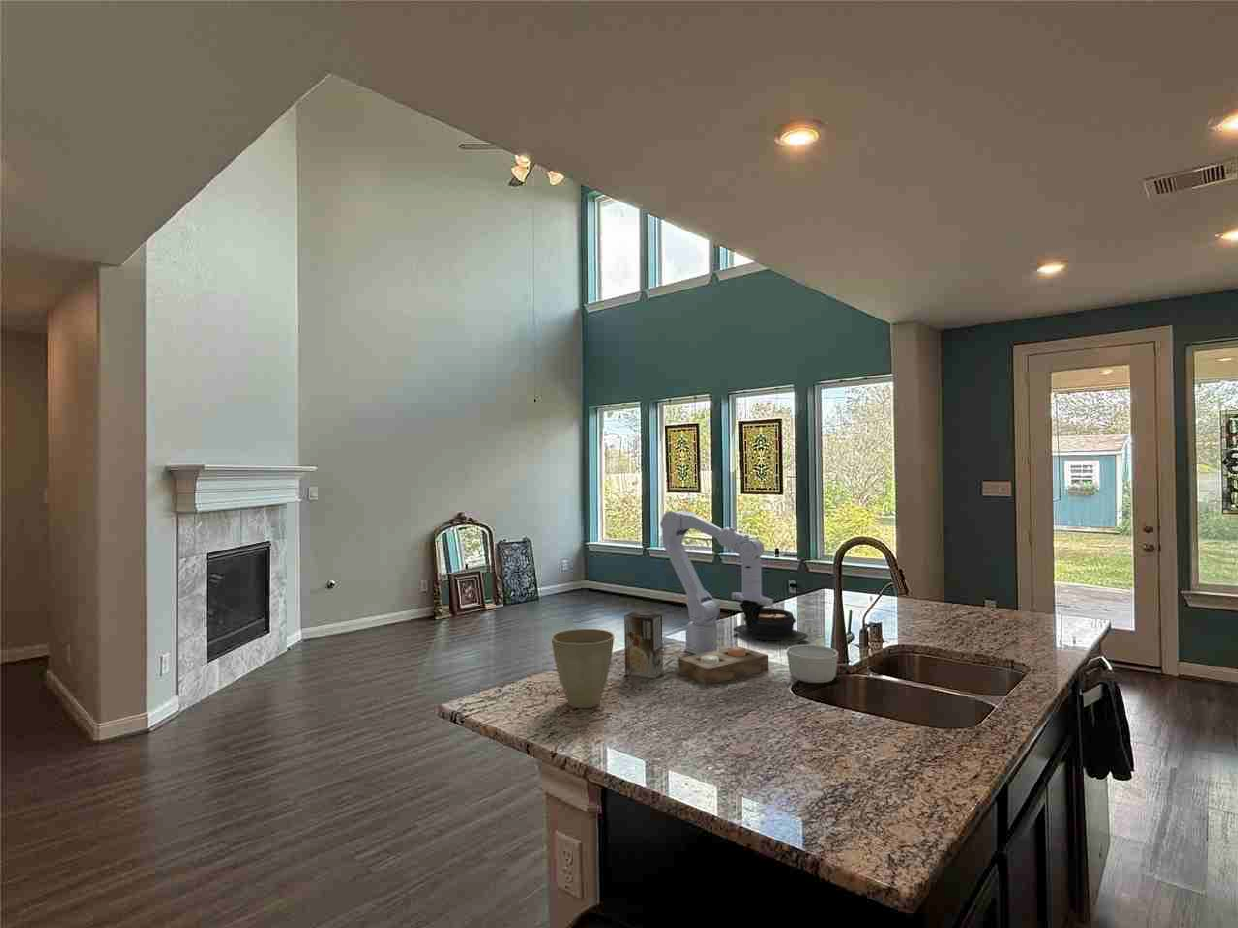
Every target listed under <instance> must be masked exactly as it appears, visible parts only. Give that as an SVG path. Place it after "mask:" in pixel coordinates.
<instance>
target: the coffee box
mask: <svg viewBox="0 0 1238 928" xmlns="http://www.w3.org/2000/svg"><path fill="white" fill-rule="evenodd" d="M623 633H624V634H623V636H624V637H623V640H624V674H625V675H626V676H633V677H638V678H639V677H640V678H647V679H653V680H654V679H656V678H659V676H661V675H662V674H663V673H664V662H663V661H664V659H663V657H664V655H663V654H664V653H663V614H661V613H652V612H644V611H643V612H642V611H635V610H634V611H631V612H629V613H626V614H625V615H623Z"/></svg>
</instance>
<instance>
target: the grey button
mask: <svg viewBox="0 0 1238 928" xmlns="http://www.w3.org/2000/svg"><path fill="white" fill-rule="evenodd" d="M701 662H704V663H707V664H713V663H717V662H719V658H718V657H717V656H711V655H707V656H702V657H701Z"/></svg>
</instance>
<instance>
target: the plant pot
mask: <svg viewBox="0 0 1238 928" xmlns="http://www.w3.org/2000/svg"><path fill="white" fill-rule="evenodd" d="M614 642H615V634H614V633H612V632H611V631H608V630H605V629H595V628H577V629H576V628H575V629H569V630H563V631H559V632H557V633H554V634H553V635H551V643H552V650H553V655H554V661H555V666H556V670H557V674H558V677H559V681H560V685H561V688H562V690H563V693H564V696H565V698H566V702H567V703H568V706H570V707H572V708H577V709H589V708H590V709H591V708H593V707H597V706H598V705H599V704H600V702H601V700H602V696H603V693H604V690H605V687H606V684H607V681H608V680H607V679H608V677H609V672H610V667H611V664H612V663H611V662H612V655H613V649H614Z"/></svg>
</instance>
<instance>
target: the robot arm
mask: <svg viewBox="0 0 1238 928" xmlns="http://www.w3.org/2000/svg"><path fill="white" fill-rule="evenodd" d="M661 518H662V519H661V521H660V523H659V525H660V528H661V529H662V530H661V531H662V545H663V547H664V549H665V552H666V554H667V555H668V558H669V560H670V562H671V564H672V566H673V568H674V571H675V573H676V574H677V576H678V579H679V580H680V583H681V585H682V587H683V589H684V592H685V593H686V595H687V598H686V602H685V604H686V607H687V609H688V617H689V619H690V621H689V622H688V623H687V625H686V626H685V648H683V651H684V652H687V653H689V654H693V655H696V654H701V653H706V652H711V651H715V650H718V649H717V647H718V646H717V644H718V643H717V618H718V616H719V615H720V611H721V608H720V605H719V603H718V601H717V600H715V599H714V598H713V597H712V594H711V593H710V592H708V591H707V590H706V589H705V588H704V586H703V584H702V582H701V580H700V578H699V576H698V573H697V572H696V570H695V568H694V565H693V563H692V561H691V560H690V557H689V556H688V553H687V551H686V549H685V548H684V545H683V540H684V538H685V535H686V534H687V533H688V532H689V530H690V529H691V530H692V529H694V530H697V531H699V532H701V533H704V534H706V535H708V536H710V537H713V538H714V539H716V540H717V543H718V544H719V545H720V546H722V547H724V548H726V549H728V550H730V551H732V552H733V553H736V554H738V556H739V557H740V560H741V566H740V567H741V592H738V591H735V592H731V600H738V601H742V602H740V603H739V607H740V608H741V610H742V612H743V615H744V616H745V618H746V621H747V625H748V628H751V629H752V628H756V626H757V622H758V618H759V615H760V613H761V611H762V609H763V608H764V606H765V607H766V608H770V607H771V608H772V607H774V599H772V598H770V597H766V596H764V595H763V592H762V591H763V586H762V585H763V581H762V573H763V571H762V569H763V567H762V555H763V554H764V552H765V545H764V544H763V542H762V541H761V540H759V538H757V537H752V538H750V535H748V534H743V533H741V532H738V531H736V527H733V526H730V527H729V526H727V527H724V528H721V527H719V526H718V525H716V524H715V523H713V522H710V521H708V520H707V519H705V518H703V517H701V516H700V515H698V514H696V513H694V512H691V511H689V510H687V509H681V510H675V511H673V510H669V511H667V512H665V513H664V514H663V516H662V517H661Z"/></svg>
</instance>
